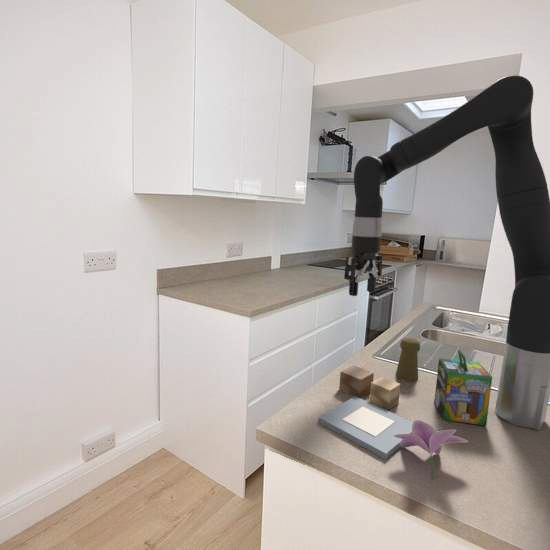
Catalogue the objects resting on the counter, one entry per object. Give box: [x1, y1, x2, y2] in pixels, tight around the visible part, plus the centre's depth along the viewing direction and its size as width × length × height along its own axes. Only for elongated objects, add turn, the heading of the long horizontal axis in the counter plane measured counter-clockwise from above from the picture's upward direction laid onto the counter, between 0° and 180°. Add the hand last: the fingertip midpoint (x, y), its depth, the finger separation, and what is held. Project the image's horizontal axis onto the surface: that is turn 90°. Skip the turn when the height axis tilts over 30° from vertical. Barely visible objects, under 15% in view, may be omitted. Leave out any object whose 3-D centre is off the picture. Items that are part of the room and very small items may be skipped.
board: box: [317, 396, 414, 460], centre depth 78 cm, size 16×14×1 cm
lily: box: [394, 419, 469, 480], centre depth 66 cm, size 12×12×10 cm
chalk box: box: [433, 348, 493, 426], centre depth 84 cm, size 9×9×15 cm
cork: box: [395, 337, 421, 383], centre depth 102 cm, size 6×6×11 cm
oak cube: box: [368, 376, 401, 411], centre depth 88 cm, size 5×5×5 cm
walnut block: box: [338, 364, 375, 399], centre depth 94 cm, size 6×6×5 cm
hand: (362, 293), depth 101 cm, fingers open, 8 cm apart
